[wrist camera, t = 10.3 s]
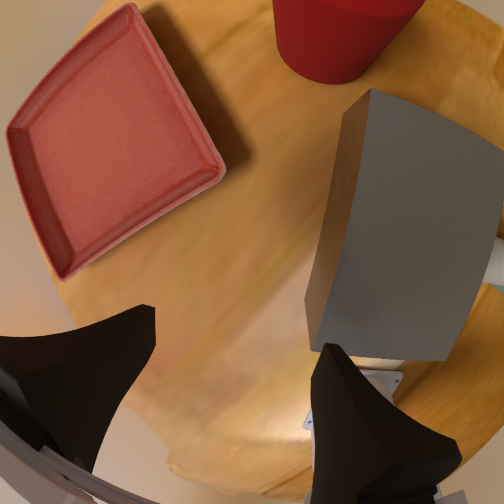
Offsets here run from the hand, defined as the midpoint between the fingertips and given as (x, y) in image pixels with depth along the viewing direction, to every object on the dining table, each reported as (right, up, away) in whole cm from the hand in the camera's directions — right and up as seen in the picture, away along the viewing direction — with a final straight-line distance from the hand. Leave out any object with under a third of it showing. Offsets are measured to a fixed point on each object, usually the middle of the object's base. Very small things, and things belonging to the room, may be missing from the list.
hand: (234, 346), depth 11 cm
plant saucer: (-12, +13, +8) cm, 20 cm away
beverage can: (+6, +19, +4) cm, 20 cm away
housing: (+11, +6, +7) cm, 14 cm away
